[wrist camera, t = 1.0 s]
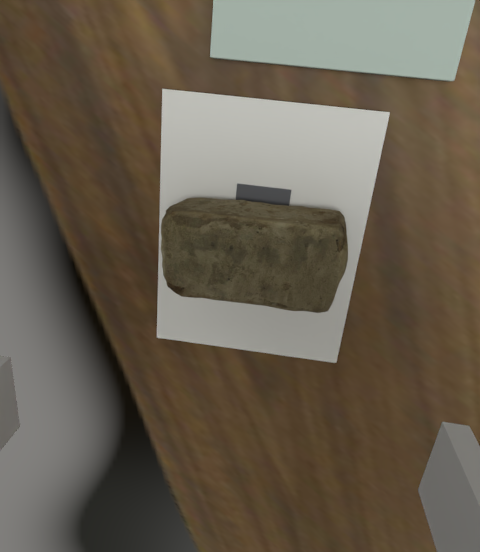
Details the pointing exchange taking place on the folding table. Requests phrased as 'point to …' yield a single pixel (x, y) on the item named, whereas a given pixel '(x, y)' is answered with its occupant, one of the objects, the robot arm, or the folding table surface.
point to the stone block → (254, 253)
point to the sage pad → (345, 34)
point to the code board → (268, 189)
